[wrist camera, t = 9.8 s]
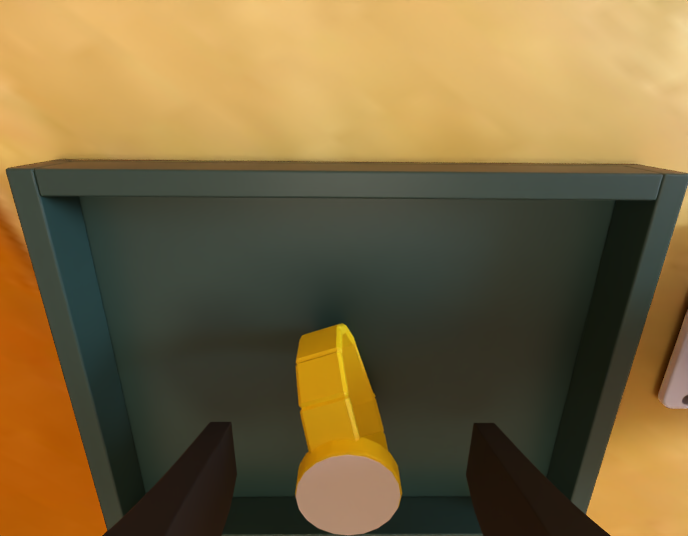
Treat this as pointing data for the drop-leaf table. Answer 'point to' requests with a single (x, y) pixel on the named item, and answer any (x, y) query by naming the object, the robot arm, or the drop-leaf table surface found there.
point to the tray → (345, 314)
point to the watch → (342, 439)
